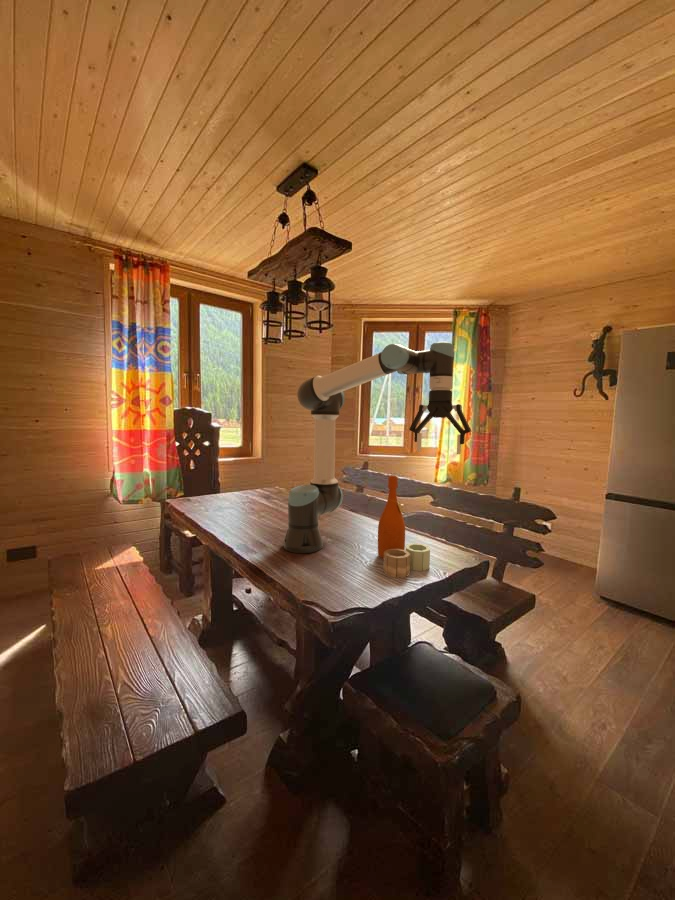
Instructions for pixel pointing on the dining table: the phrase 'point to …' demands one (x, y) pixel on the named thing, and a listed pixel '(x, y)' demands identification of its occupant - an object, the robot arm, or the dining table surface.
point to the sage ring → (419, 556)
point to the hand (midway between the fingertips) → (438, 452)
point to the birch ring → (396, 563)
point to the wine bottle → (391, 522)
